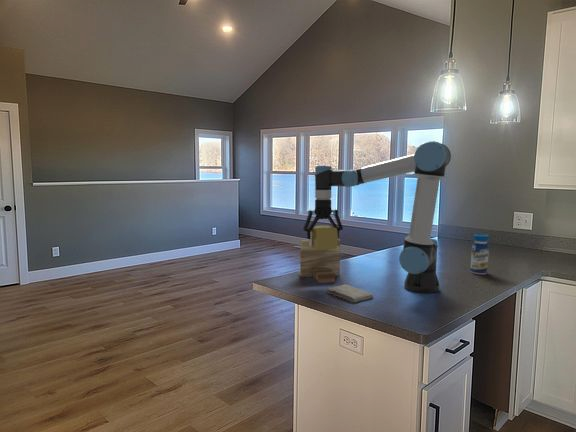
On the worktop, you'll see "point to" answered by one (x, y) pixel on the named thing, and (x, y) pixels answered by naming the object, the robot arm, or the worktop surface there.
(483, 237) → the beverage bottle
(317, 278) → the wall board
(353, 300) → the washcloth
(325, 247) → the cheese
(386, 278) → the worktop surface
